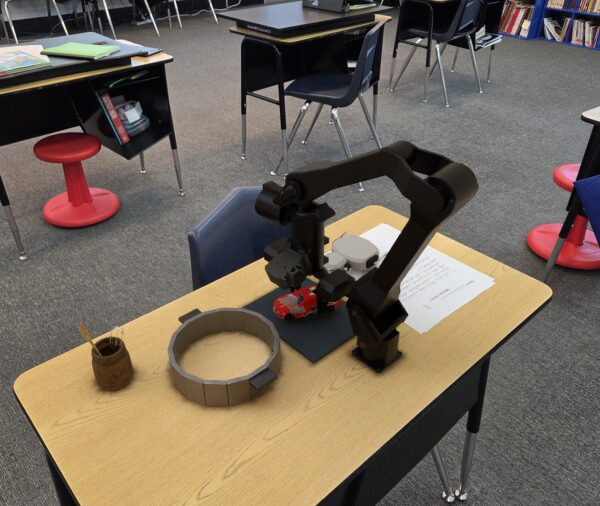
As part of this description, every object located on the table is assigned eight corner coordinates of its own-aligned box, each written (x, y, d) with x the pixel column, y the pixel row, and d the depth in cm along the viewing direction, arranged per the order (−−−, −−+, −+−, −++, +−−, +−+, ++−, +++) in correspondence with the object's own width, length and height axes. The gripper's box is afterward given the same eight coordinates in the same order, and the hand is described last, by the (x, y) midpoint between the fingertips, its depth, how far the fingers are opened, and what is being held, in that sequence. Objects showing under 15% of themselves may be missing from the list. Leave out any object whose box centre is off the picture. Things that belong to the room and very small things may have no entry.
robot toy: (339, 298, 109) (389, 265, 117) (339, 280, 107) (389, 248, 114) (299, 271, 117) (348, 242, 125) (298, 254, 114) (348, 226, 122)
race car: (276, 324, 99) (276, 307, 97) (270, 306, 103) (269, 289, 101) (345, 311, 102) (345, 294, 100) (335, 294, 106) (336, 278, 104)
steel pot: (310, 373, 91) (310, 351, 88) (221, 435, 80) (218, 412, 78) (230, 310, 105) (228, 289, 102) (145, 355, 94) (141, 334, 92)
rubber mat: (374, 321, 102) (374, 320, 102) (313, 363, 93) (313, 362, 92) (302, 275, 114) (302, 274, 114) (242, 308, 105) (241, 307, 105)
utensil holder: (132, 389, 88) (119, 333, 81) (92, 394, 87) (75, 338, 81) (135, 363, 93) (123, 308, 86) (97, 367, 92) (82, 312, 86)
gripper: (238, 229, 95) (243, 300, 103) (311, 275, 83) (311, 350, 91) (285, 209, 101) (287, 276, 110) (360, 248, 90) (355, 321, 98)
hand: (307, 304), depth 102 cm, fingers closed on race car, 6 cm apart
